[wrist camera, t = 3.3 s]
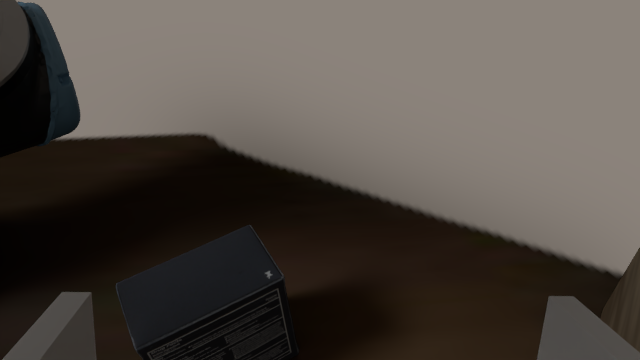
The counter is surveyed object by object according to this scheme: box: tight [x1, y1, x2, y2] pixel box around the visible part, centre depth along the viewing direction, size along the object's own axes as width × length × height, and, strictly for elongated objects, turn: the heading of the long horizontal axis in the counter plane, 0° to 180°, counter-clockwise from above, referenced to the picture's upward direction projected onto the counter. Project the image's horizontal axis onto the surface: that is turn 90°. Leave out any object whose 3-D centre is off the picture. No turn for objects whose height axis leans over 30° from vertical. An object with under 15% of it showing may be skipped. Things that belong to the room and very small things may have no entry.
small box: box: [116, 225, 299, 360], centre depth 37 cm, size 11×6×10 cm, turn 120°
